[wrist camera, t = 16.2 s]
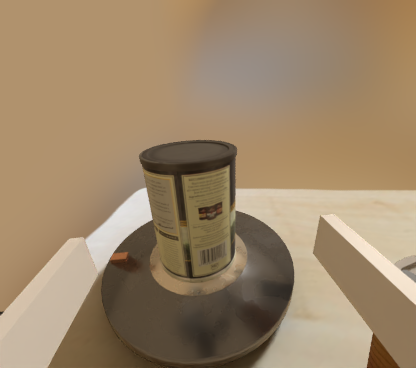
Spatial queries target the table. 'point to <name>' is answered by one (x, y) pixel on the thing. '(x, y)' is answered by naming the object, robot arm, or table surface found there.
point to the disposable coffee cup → (378, 356)
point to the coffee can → (192, 206)
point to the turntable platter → (198, 299)
